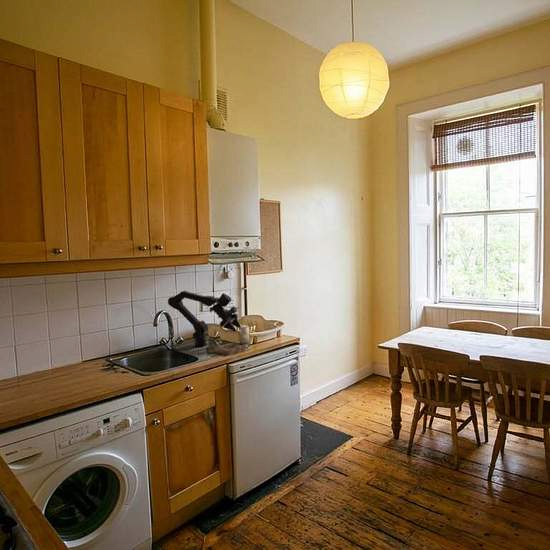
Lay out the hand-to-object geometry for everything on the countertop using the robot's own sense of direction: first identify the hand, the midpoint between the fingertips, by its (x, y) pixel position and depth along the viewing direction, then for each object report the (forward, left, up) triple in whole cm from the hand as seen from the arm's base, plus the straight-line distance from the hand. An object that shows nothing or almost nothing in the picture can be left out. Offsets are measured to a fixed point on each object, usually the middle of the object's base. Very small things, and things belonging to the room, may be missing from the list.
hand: (238, 329), depth 249 cm
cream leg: (+4, +1, -11) cm, 12 cm away
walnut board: (0, -11, -11) cm, 16 cm away
